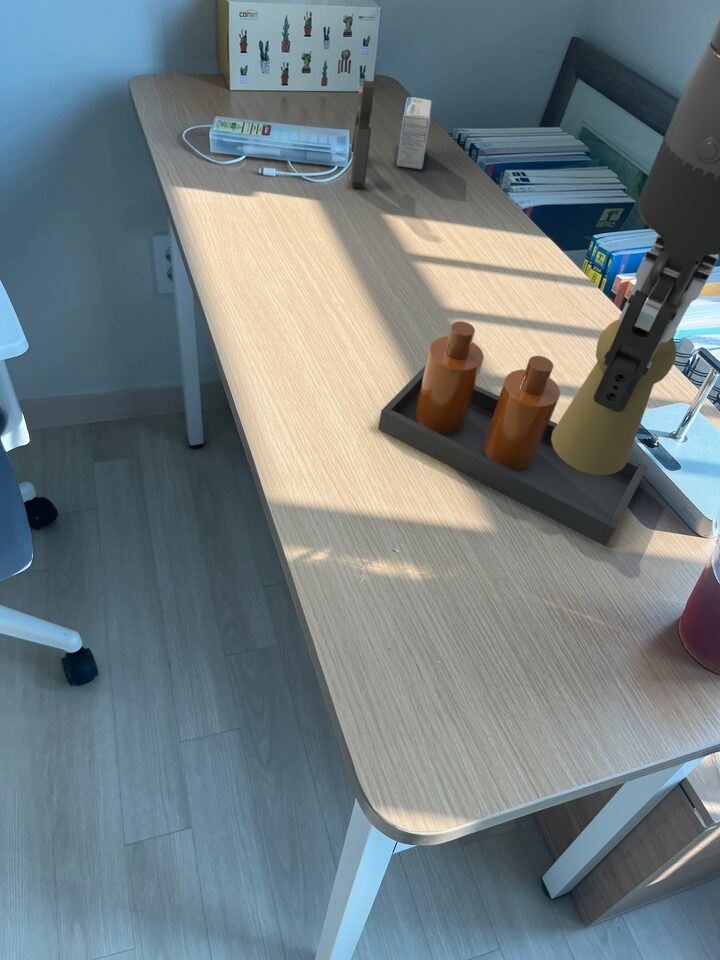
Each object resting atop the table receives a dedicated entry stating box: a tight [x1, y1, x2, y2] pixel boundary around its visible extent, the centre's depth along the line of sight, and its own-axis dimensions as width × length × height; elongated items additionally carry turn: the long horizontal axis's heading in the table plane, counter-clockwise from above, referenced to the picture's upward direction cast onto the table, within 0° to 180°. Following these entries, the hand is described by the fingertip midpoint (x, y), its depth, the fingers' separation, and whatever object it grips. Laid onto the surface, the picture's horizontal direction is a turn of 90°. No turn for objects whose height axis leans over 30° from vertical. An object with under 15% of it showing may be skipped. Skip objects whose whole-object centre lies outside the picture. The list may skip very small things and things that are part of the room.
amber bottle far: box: [415, 321, 484, 434], centre depth 79 cm, size 6×6×12 cm
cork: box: [551, 318, 677, 475], centre depth 55 cm, size 6×6×11 cm
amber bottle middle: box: [483, 355, 561, 470], centre depth 77 cm, size 6×6×12 cm
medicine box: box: [396, 96, 433, 170], centre depth 127 cm, size 8×4×9 cm, turn 174°
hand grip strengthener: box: [350, 80, 375, 189], centre depth 119 cm, size 2×12×15 cm, turn 1°
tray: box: [377, 364, 648, 547], centre depth 81 cm, size 27×11×3 cm, turn 58°
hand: (621, 382), depth 54 cm, fingers closed on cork, 5 cm apart
